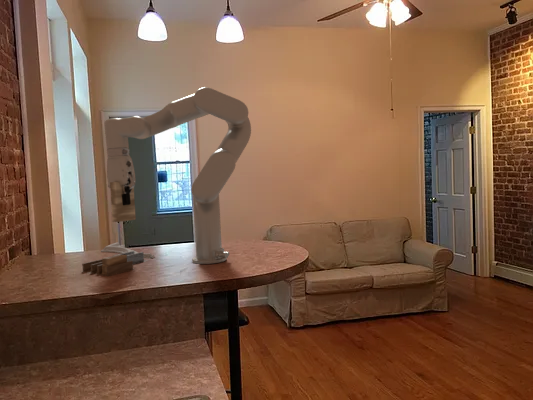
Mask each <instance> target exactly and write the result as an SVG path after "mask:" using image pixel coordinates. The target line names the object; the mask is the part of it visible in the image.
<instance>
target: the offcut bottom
mask: <svg viewBox="0 0 533 400" xmlns="http://www.w3.org/2000/svg"><path fill="white" fill-rule="evenodd" d="M106 267H107V266H102V274H107V268H106Z"/></svg>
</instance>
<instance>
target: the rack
mask: <svg viewBox="0 0 533 400" xmlns="http://www.w3.org/2000/svg"><path fill="white" fill-rule="evenodd" d="M102 266H103V264H102V258H101V259H95V260H91V261H88V262H84V263H82V266H81V267H82V271H81V273H84V274H90V275H98V276H104V277H112V276H115V275H118V274H123V273H126V272H130V271H133V270H135V268H134V265H133V261H128V262H124V263H120V264H116V265H112V266H108V267H106V268H107V274H102Z"/></svg>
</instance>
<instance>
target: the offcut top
mask: <svg viewBox="0 0 533 400" xmlns="http://www.w3.org/2000/svg"><path fill="white" fill-rule="evenodd" d="M118 254H119V255H118ZM118 254H114V255H115V256H113V255H112V256H107V257H102V258H101V259H102V264H103V266H107V267H108V266H112V265H116V264H120V263H124V262H127V255H121V254H120V253H118Z"/></svg>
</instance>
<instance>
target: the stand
mask: <svg viewBox="0 0 533 400" xmlns="http://www.w3.org/2000/svg"><path fill="white" fill-rule="evenodd" d="M134 251H135V250H134ZM134 251H131V252H126V253H122V254H121V255H127V262H128V261H133V266H134V265H137V264H140V263H141V264H142V263H145V262H149V261H150V260H149V259H145V258H144V251H140V252H138V253H135V254H134ZM119 254H120V253H117V255H119ZM115 255H116V254H113V255H112V256H115Z"/></svg>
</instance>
